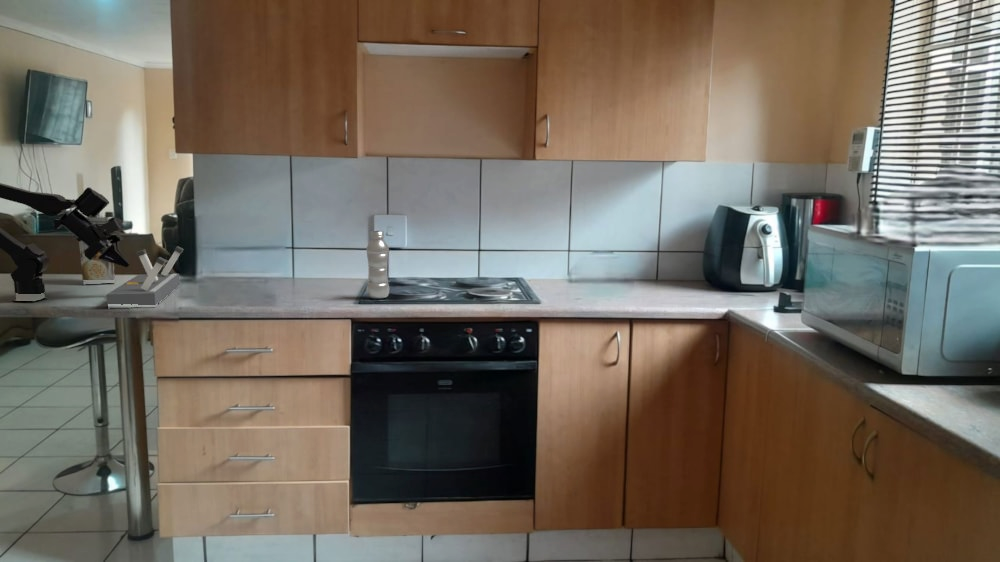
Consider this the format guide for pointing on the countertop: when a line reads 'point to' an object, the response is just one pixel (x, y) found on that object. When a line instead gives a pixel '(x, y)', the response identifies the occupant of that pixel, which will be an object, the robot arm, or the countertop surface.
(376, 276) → the plastic bottle
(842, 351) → the countertop surface
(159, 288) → the breaker panel
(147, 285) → the lever
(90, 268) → the coffee box
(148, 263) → the lever
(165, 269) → the lever
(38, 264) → the robot arm
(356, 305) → the countertop surface
